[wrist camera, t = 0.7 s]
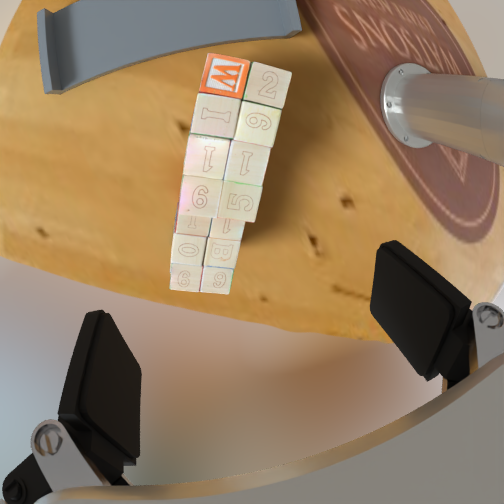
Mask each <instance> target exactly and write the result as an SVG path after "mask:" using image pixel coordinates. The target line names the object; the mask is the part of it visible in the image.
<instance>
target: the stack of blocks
mask: <svg viewBox="0 0 504 504" xmlns="http://www.w3.org/2000/svg"><path fill="white" fill-rule="evenodd" d="M291 77H292V73H291V72H289V71H286V70H282V69H279V68H276V67H272V66H269V65H265V64H262V63H258V62H252V63H251V62H250V61H248V60H245V59H240V58H236V57H231V56H226V55H220V54H215V53H208V55H207V59H206V63H205V67H204V72H203V76H202V80H201V84H200V89H199V93H198V95H197V100H196V104H195V109H194V113H193V118H192V123H191V128H190V132H189V137H188V143H187V148H186V153H185V159H184V169H183V175H182V182H181V188H180V197H179V202H178V203H177V210H176V217H175V224H174V232H173V234H174V235H173V243H172V252H171V263H170V273H171V277H170V289H172V290H182V291H191V292H199V291H200V292H208V293H219V294H229V292H230V287H231V283H232V278H233V273H234V268H235V266H236V262H237V257H238V252H239V248H240V243H241V239H242V235H243V231H244V226H245V221H246V222H253V223H254V222H255V219H256V215H257V211H258V206H259V202H260V198H261V193H262V189H263V187H262V184H263V181H264V177H265V173H266V169H267V164H268V160H269V156H270V151H271V148H272V147H273V145H274V141H275V137H276V133H277V129H278V125H279V121H280V117H281V113H282V110H281V109H282V108H283V107H284V103H285V99H286V96H287V92H288V88H289V84H290V81H291Z"/></svg>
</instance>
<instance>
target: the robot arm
mask: <svg viewBox="0 0 504 504" xmlns="http://www.w3.org/2000/svg"><path fill="white" fill-rule="evenodd" d="M380 100H381V110H382V115H383V118H384V121H385V123H386V125H387V127H388V129H389V131H390V132H391V133H392V135H393V136H394V137H395V138H396V139H397V140H398V141H399V142H401V143H403V144H404V145H407V146H410V147H414V148H423V147H426V146H428V145H430V144H431V143H433V142H434V143H437V144H441V145H444V146H447V147H450V148H453V149H457V150H460V151H463V152H465V153H468V154H471V155H474V156H477V157H479V158H482V159H485V160H487V161H490V162H493V163H495V164H498V165H500V166H503V167H504V80H503V79H495V78H487V77H478V76H468V75H453V74H431V73H430V72H429V71H428V70H427V69H426V68H424V67H422V66H420V65H418V64H414V63H405V64H400V65H397V66H395V67H394V68H393V69H391V70H390V71H389V73H388V74H387V75H386V77H385V79H384V81H383V84H382V88H381V97H380ZM470 305H471V301H470V300H469V299H468V298H467V297H466V296H465V295H464V294H462V293H461V292H460V291H459V290H458V289H457V288H456V287H454V286H453V285H452V284H451V283H450V282H448V281H447V280H446V279H445V278H444V277H443V276H441V275H440V274H439V273H438V272H436V271H435V270H434V269H433V268H432V267H430V266H429V265H428V264H427V263H425V262H424V261H423V260H422V259H420V258H419V257H418V256H417V255H415V254H414V253H413V252H411V251H410V250H409V249H407V248H406V247H405V246H404V245H402V244H401V243H400V242H398V241H396V240H393V241H389V242H386V243H382V244H381V245H380V248H379V249H378V250H377V253H376V262H375V272H374V280H373V288H372V295H371V302H370V311H371V314H372V315H373V317H374V318H375V319H376V320H377V322H378V323H379V324H380V325H381V327H382V328H383V329H384V330H385V332H386V333H387V334H388V335H389V337H390V338H391V339H392V341H393V342H394V343H395V344H396V346H397V347H398V348H399V349H400V351H401V352H402V353H403V355H404V356H405V357H406V358H407V360H408V361H409V362H410V364H411V365H412V366H413V368H414V369H415V370H416V372H417V373H418V374H419V375H420V376H424V378H425V379H426V380H427V381H429V380H431V379H433V378H435V377H436V376H437V375H438V374H439V373H440V374H441V375H442V376H443V380H442V394H441V395H439V396H438V397H436V398H434V399H433V400H431V401H429V402H428V403H426V404H424V405H423V406H421V407H419V408H418V409H416V410H414V411H413V412H411V413H409V414H407V415H405V416H403V417H401V418H400V419H398V420H396V421H394V422H392V423H390V424H388V425H386V426H384V427H382V428H380V429H378V430H375V431H373V432H371V433H369V434H367V435H365V436H362V437H360V438H357V439H355V440H353V441H350V442H348V443H345V444H343V445H341V446H338V447H335V448H333V449H330V450H327V451H325V452H322V453H319V454H316V455H313V456H310V457H307V458H304V459H301V460H298V461H294V462H291V463H287V464H283V465H280V466H277V467H273V468H268V469H264V470H260V471H256V472H251V473H247V474H242V475H236V476H231V477H225V478H219V479H213V480H206V481H198V482H188V483H178V484H165V485H144V486H134V485H133V483H132V482H131V481H130V480H129V479H128V478H127V477H126V476H125V475H124V474H123V473H124V471H123V466H133V465H134V466H135V465H136V458H138V457H139V456H140V397H141V395H140V394H141V376H142V374H141V368H140V366H139V364H138V362H137V361H136V359H135V357H134V356H133V354H132V352H131V351H130V349H129V347H128V345H127V344H126V342H125V340H124V339H123V337H122V335H121V333H120V332H119V330H118V328H117V326H116V324H115V322H114V320H113V319H112V317H111V315H110V314H109V313H105V312H104V311H103V310H97V311H93V312H88V313H86V315H85V318H84V321H83V324H82V327H81V330H80V333H79V336H78V339H77V342H76V345H75V348H74V352H73V355H72V358H71V362H70V365H69V369H68V372H67V376H66V380H65V384H64V388H63V392H62V396H61V401H60V405H59V410H58V415H59V417H58V421H57V420H52V419H49V420H45V421H43V422H41V423H40V424H39V425H38V426H37V427H36V428H35V430H34V431H33V433H32V436H31V448H32V452H33V453H32V454H31V455H29V456H28V457H27V458H26V459H25V460H24V461H23V462H22V463H21V464H19V465H18V466H17V467H16V468H15V469H14V470H13V471H12V472H11V473H9V474H8V476H7V477H6V478H5V480H4V482H3V487H2V491H3V497H4V499H5V501H4V500H2V499H1V500H0V504H504V312H503V311H502V310H501V309H500V308H499V307H498V306H496V305H494V304H492V303H488V302H482V303H479V304H477V305H476V306H474V308H473V311H472V310H470V309H469V308H470Z"/></svg>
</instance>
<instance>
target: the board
mask: <svg viewBox="0 0 504 504" xmlns="http://www.w3.org/2000/svg"><path fill="white" fill-rule="evenodd" d="M37 25H38V43H39V54H40V64H41V72H42V79H43V86H44V92H45V94H62V93H64V92H66V91H68V90H70V89H73V88H75V87H77V86H79V85H82V84H84V83H86V82H89V81H91V80H93V79H96V78H98V77H101V76H104V75H106V74H109V73H112V72H114V71H117V70H120V69H123V68H126V67H129V66H132V65H135V64H138V63H142V62H145V61H149V60H152V59H156V58H159V57H163V56H167V55H171V54H175V53H180V52H184V51H189V50H193V49H198V48H204V47H209V46H215V45H221V44H228V43H236V42H244V41H254V40H265V39H281V38H291V37H292V36H294V35H295V34H297V33H299V32H300V31H302V28H301V23H300V18H299V14H298V9H297V5H296V0H80V1H78V2H75V3H73V4H71V5H69V6H67V7H65V8H63V9H61V10H59V11H57V12H55V13H52V12H50V11H49V10H47V9H45V8H44V9H42V10H41V11H39V12H37Z"/></svg>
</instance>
